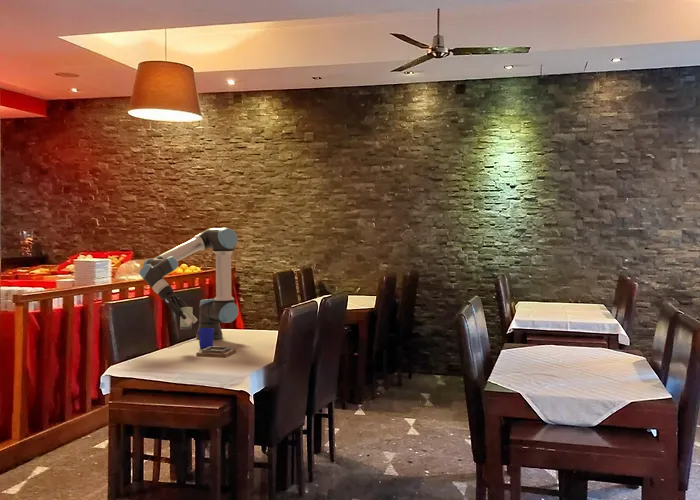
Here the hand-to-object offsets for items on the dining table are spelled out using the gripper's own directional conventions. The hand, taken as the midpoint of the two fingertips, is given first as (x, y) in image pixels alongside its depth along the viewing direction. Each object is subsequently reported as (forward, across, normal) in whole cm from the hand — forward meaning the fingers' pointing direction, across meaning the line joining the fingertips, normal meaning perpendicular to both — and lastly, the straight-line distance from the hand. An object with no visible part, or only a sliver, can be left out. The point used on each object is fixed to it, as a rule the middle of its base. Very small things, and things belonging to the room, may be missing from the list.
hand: (193, 322), depth 311 cm
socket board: (+20, +2, -1) cm, 20 cm away
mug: (+12, -16, -10) cm, 22 cm away
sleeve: (0, 0, -5) cm, 5 cm away
